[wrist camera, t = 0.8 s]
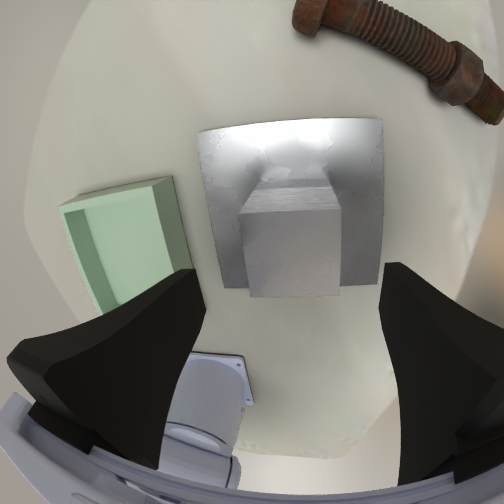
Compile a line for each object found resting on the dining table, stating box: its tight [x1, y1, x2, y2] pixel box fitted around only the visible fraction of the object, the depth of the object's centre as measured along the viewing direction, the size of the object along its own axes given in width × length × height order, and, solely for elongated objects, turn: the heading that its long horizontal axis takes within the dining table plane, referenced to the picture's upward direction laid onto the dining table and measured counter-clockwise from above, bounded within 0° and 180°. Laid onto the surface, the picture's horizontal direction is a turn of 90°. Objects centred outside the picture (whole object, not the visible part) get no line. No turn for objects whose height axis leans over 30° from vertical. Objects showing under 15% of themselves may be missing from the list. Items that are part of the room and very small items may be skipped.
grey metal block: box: [238, 178, 341, 297], centre depth 15 cm, size 4×4×6 cm
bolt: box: [292, 0, 504, 125], centre depth 10 cm, size 6×5×15 cm
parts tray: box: [57, 176, 193, 316], centre depth 22 cm, size 12×10×3 cm
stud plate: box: [195, 118, 384, 288], centre depth 17 cm, size 12×12×3 cm
